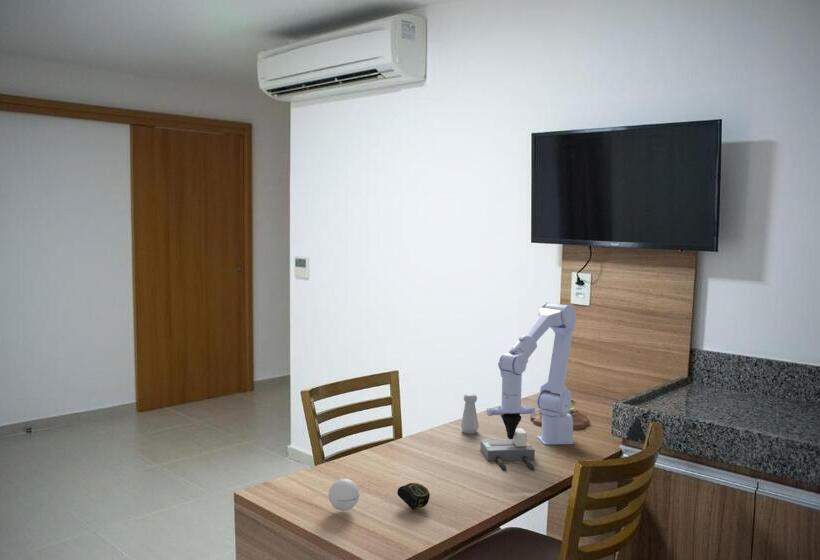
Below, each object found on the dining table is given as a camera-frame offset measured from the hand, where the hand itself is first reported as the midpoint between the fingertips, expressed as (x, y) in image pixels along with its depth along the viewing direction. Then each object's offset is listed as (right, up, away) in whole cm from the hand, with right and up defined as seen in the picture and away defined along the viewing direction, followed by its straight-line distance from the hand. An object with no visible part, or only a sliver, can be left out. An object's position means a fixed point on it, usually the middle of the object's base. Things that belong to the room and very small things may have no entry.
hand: (510, 438), depth 202 cm
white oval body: (-44, -8, -41) cm, 61 cm away
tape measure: (-32, -7, -38) cm, 50 cm away
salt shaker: (-10, -4, +21) cm, 24 cm away
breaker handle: (+3, -2, 0) cm, 3 cm away
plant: (+23, -3, +36) cm, 43 cm away
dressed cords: (0, -6, -9) cm, 10 cm away
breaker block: (-1, -5, 0) cm, 5 cm away
